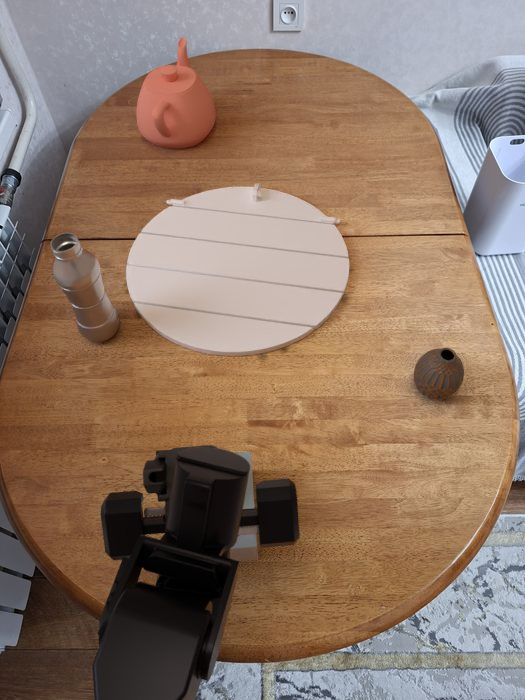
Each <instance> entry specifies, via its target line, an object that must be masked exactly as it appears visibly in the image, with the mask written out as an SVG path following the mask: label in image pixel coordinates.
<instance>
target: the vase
mask: <svg viewBox="0 0 525 700" xmlns="http://www.w3.org/2000/svg"><path fill="white" fill-rule="evenodd" d="M464 377H465V366H464V363H463V361H462V359H461V358H460V356H459V355H458V354H457V353H456V351H455V350H454V349H452V348H450V347H441V348H440V347H439V348H438V347H437V348H434V349H430V350H428V351H426V352H425V353H424V354H422V356H421V357H419V359H418V360H417V362H416V364H415V366H414V370H413V382H414V385H415V387H416V389H417V391H418V392H419V393H420V394H421V395H422V396H424V397H425V398H427V399H430V400H434V401H441V400H445V399H448V398H451V397H452V396H454V395H455V394H456V393H457V392H458V391H459V389H460V388H461V387H462V384H463V382H464V379H465V378H464Z"/></svg>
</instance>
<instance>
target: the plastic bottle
mask: <svg viewBox="0 0 525 700" xmlns="http://www.w3.org/2000/svg"><path fill="white" fill-rule="evenodd" d="M50 249H51V251H52V254H53V255H52V256H53V257H54V258H55V259H54V262H53V266H52V275H53V279H54V281H55V282H56V284H57V285H58V287H59V288H60V289H61V290H62V292H63V293H64V294H65V295H66V298H67V299H68V302H69V303H70V305H71V307H72V310H73V313H74V316H75V323H76V327H77V330H78V332H79V333H80V334H81V335H82V336H83V338H85V339H86V341H87V340H88V341H89V342H93V343H102V342H106V341H107V340H109V339H111V338H113V336H114V335H115V334H116V333H117V331H118V329H119V327H120V316H119V312H118V310H117V309H116V307H115V306H114V304H113V303H112V302H111V300H110V298H109V296H108V294H107V291H106V289H105V285H104V282H103V278H102V272H101V271H102V270H101V266H100V262H99V260H98V258H97V257H96V255H94V253H93V252H91V251H90V250H88V249H85V248H83V246H82V243H81V242H80V241H79V238H78V236H77V235H76V234H75V233H73V232H62V233H59V234H57V235H55V237H53V238H52V239H51V241H50Z"/></svg>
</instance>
